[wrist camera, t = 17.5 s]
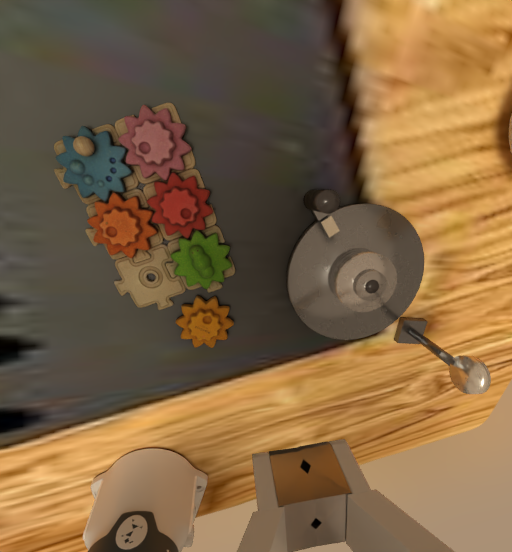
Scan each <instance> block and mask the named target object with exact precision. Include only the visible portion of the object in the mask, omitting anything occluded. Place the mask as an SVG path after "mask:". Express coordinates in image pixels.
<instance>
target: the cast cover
mask: <svg viewBox="0 0 512 552" xmlns="http://www.w3.org/2000/svg"><path fill="white" fill-rule="evenodd" d="M328 284H329V288H330V290H331V292H332V293H333V294H334V296H335V297H337V298H338V299H339V300H340V301H341V302H342V303H343V304H344V305H345V306H346V307H348V308H349V309H351V310H353V311H356V312H369V311H373V310H375V309H377V308H379V307H381V306H382V305H384V304H385V303H386V302H387V301H388V300H389V299H390V297H391V296H392V294H393V292H394V290H395V288H396V284H397V272H396V269H395V267H394V265H393V263H392V262H391V261H390V260H389V259H388V258H386V257H385V256H383V255H380V254H378V253H375V252H373V251H370V250H368V249H364V248H354V249H350V250H348V251H346V252H344V253H342V254H341V255H340V256H338V257H337V258H336V260H335V261H334V262H333V264H332V266H331V268H330V270H329V274H328Z"/></svg>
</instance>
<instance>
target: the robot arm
mask: <svg viewBox="0 0 512 552" xmlns="http://www.w3.org/2000/svg"><path fill="white" fill-rule="evenodd" d="M252 459H253V469H254V478H255V487H256V496H257V505H258V511H256V512H253V514H252V517H251V519H250V521H249V524H248V526H247V529H246V531H245V534H244V536H243V538H242V541H241V543H240V546H239V548H238V550H237V552H293V551H298V550H302V549H306V548H310V547H315V546H321V545H327V544H332V543H339V542H345V541H346V544H347V545H348V546H349V547H350V548H351V550H352V551H353V552H454V551H453V550H452V549H451V548H449V547H448V546H447V545H446V544H444V543H443V542H442V541H440V540H439V539H438V538H437V537H435V536H434V535H433V534H432V533H430V532H429V531H428V530H427V529H425V528H424V527H423V526H422V525H420V524H419V523H418V522H416V521H415V520H414V519H413V518H411V517H410V516H409V515H407V514H406V513H405V512H404V511H402V510H401V509H400V508H399V507H397V506H396V505H395V504H394V503H392V502H391V501H390V500H388V499H387V498H386V497H385V496H384V495H382V494H381V493H380V492H379V491H377V490H371V489H370V487H369V485H368V483H367V481H366V479H365V477H364V475H363V473H362V471H361V469H360V467H359V465H358V463H357V461H356V459H355V457H354V455H353V453H352V451H351V449H350V447H349V445H348V443H347V442H346V441H345V440H344V439H342V440H336V441H330V442H322V443H317V444H311V445H306V446H300V447H298V448H291V449H284V450H276V451H269V452H263V453H256V454H252ZM207 481H208V476H207V475H206V474H205V473H203V472H201V471H199V470H197V469H195V468H194V467H193V466H192V465H191V464H190V463H189V462H188V461H187V460H186V459H185V458H184V457H182V456H181V455H179V454H177V453H175V452H172V451H169V450H164V449H155V448H151V449H142V450H137V451H134V452H131V453H129V454H127V455H125V456H123V457H121V458H120V459H119V460H117V461H116V462H115V463H114V464H113V465H112V467H111V468H110V469H109V470H108V471H107V472H105V473H103V474H101V475H99V476H97V477H96V478H94V479H93V481H92V484H91V491H92V493H93V496H94V499H95V501H94V504H93V507H92V510H91V513H90V516H89V519H88V522H87V525H86V528H85V530H84V534H83V540H85V545H86V547H87V548H88V552H181V551H182V549H183V547H190V546H192V543H193V536H194V525H193V523H194V520H195V517H196V514H197V511H198V509H199V506H200V503H201V500H202V497H203V494H204V491H205V489H206V486H207Z"/></svg>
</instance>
